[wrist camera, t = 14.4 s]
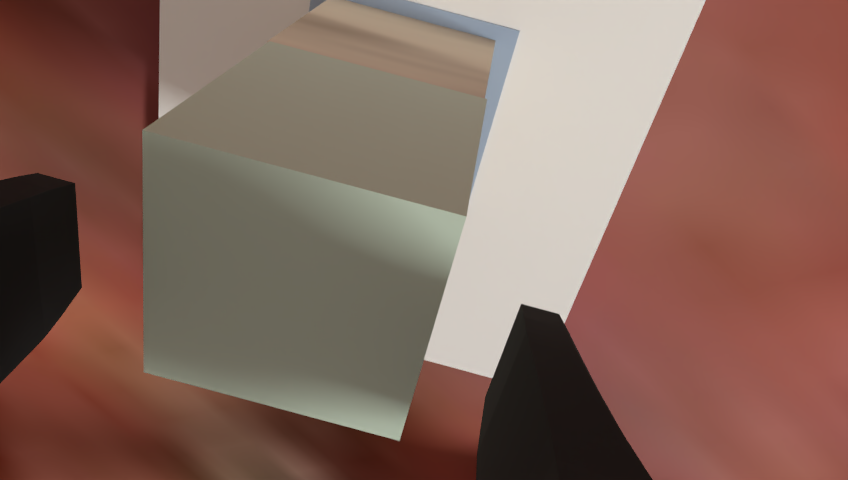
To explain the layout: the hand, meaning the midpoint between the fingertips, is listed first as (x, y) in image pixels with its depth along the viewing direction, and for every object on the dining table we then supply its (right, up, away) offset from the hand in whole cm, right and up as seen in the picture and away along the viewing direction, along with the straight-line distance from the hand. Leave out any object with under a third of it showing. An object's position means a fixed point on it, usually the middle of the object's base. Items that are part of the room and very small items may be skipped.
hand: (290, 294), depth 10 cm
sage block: (+1, +2, +4) cm, 5 cm away
